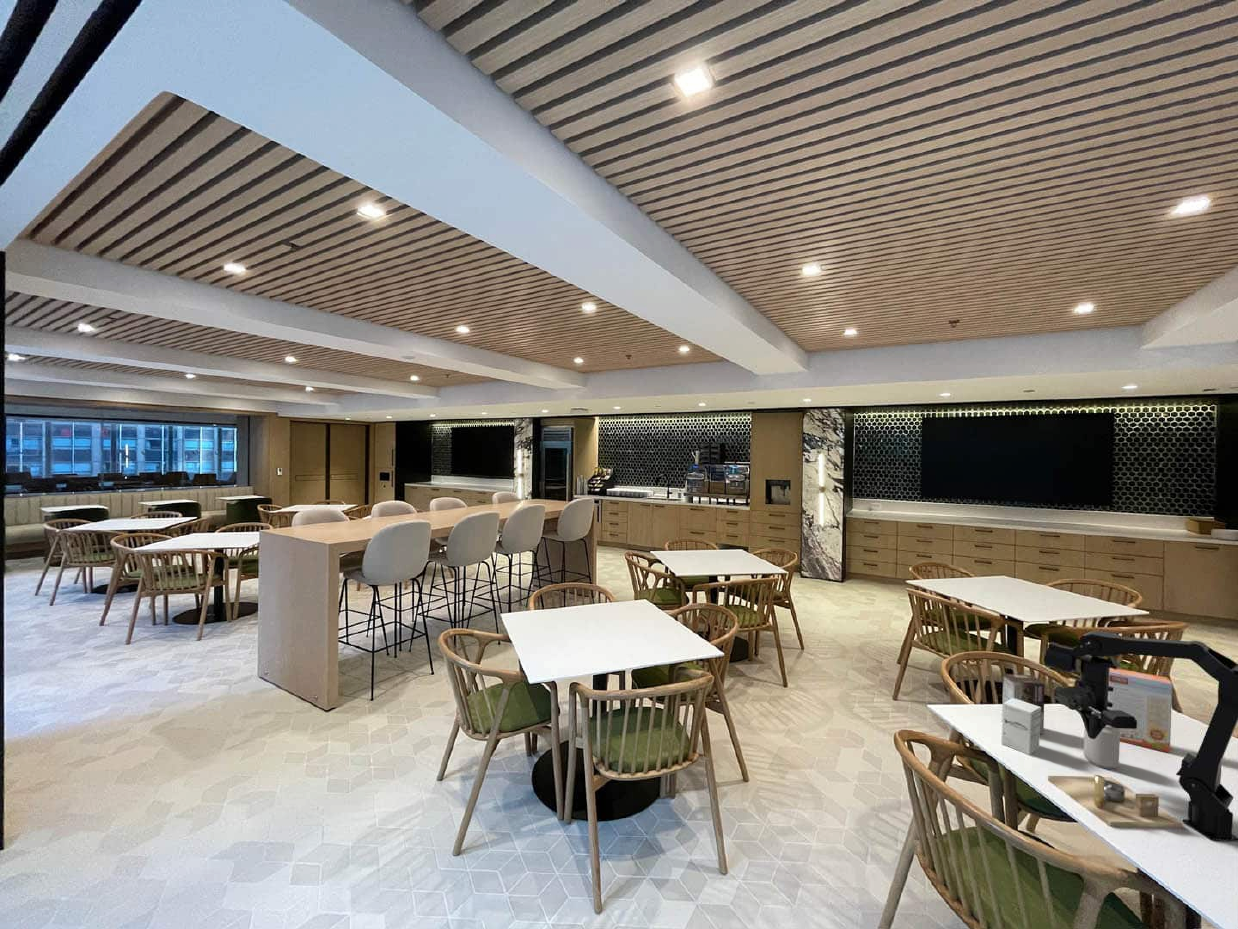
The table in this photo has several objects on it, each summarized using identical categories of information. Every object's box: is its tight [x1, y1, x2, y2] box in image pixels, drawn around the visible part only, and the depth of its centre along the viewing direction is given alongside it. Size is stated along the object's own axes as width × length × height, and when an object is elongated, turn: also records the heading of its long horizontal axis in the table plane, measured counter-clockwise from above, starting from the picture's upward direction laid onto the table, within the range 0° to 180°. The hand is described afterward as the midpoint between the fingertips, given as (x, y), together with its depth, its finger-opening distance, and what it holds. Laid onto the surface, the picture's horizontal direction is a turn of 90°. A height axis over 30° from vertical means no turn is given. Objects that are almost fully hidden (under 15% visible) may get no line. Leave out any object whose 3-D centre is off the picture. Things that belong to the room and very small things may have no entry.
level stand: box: [1047, 775, 1183, 829], centre depth 135 cm, size 18×17×6 cm
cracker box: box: [1107, 668, 1173, 754], centre depth 166 cm, size 14×6×21 cm, turn 53°
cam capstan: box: [1094, 774, 1125, 807], centre depth 134 cm, size 11×5×7 cm, turn 121°
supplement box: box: [1000, 698, 1041, 756], centre depth 161 cm, size 7×7×13 cm
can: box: [1083, 725, 1121, 770], centre depth 153 cm, size 8×8×12 cm
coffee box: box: [1001, 673, 1045, 735], centre depth 172 cm, size 9×6×16 cm
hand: (1091, 738), depth 143 cm, fingers closed
